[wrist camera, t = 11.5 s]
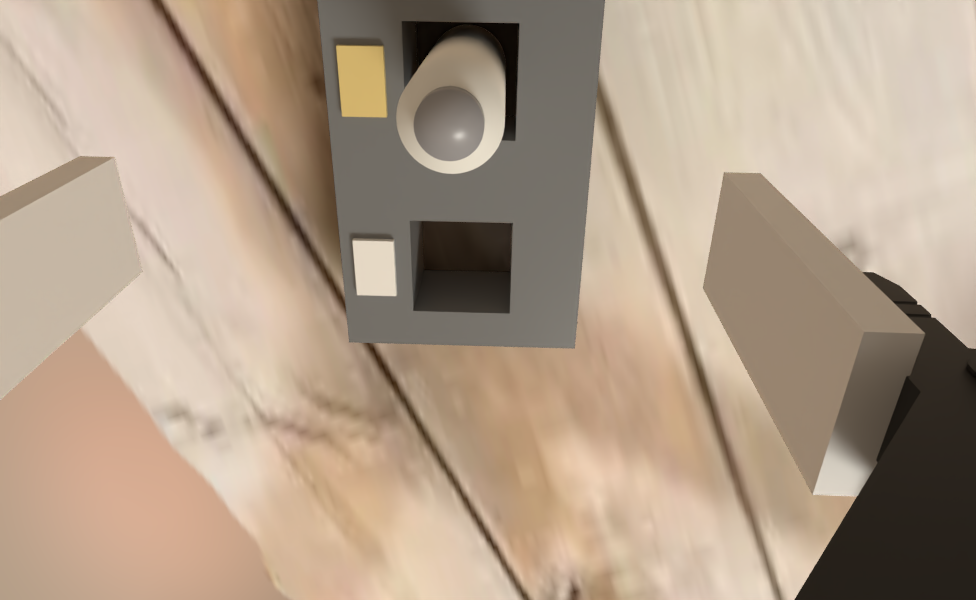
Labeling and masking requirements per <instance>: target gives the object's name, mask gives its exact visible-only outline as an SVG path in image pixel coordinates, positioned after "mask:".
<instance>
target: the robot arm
mask: <svg viewBox="0 0 976 600" xmlns="http://www.w3.org/2000/svg"><path fill="white" fill-rule="evenodd" d="M142 272H143V271H142V267H141V263H140V259H139V255H138V251H137V247H136V243H135V239H134V234H133V230H132V226H131V222H130V218H129V214H128V210H127V206H126V202H125V198H124V194H123V190H122V186H121V182H120V177H119V173H118V169H117V165H116V161H115V157H85V156H80V157H78V158H76V159H74V160H72V161H70V162H68V163H66V164H64V165H62V166H60V167H58V168H56V169H54V170H52V171H50V172H48V173H46V174H44V175H42V176H40V177H38V178H36V179H34V180H32V181H30V182H28V183H26V184H24V185H22V186H20V187H18V188H16V189H14V190H12V191H10V192H8V193H6V194H4V195H2V196H0V400H1V399H2V398H3V397H4V396H5V395H6V394H8V393H9V392H10V391H11V390H12V389H13V388H14V387H15V386H16V385H17V384H18V383H20V382H21V381H22V380H23V379H24V378H25V377H26V376H28V375H29V374H30V373H31V372H32V371H33V370H34V369H35V368H36V367H37V366H39V365H40V364H41V363H42V362H43V361H44V360H45V359H46V358H48V357H49V356H50V355H51V354H52V353H53V352H54V351H55V350H56V349H57V348H59V347H60V346H61V345H62V344H63V343H64V342H65V341H66V340H68V339H69V338H70V337H71V336H72V335H73V334H74V333H75V332H76V331H77V330H78V329H80V328H81V327H82V326H83V325H84V324H85V323H86V322H88V321H89V320H90V319H91V318H92V317H93V316H94V315H95V314H96V313H98V312H99V311H100V310H101V309H102V308H103V307H104V306H105V305H106V304H108V303H109V302H110V301H111V300H112V299H113V298H114V297H115V296H116V295H118V294H119V293H120V292H121V291H122V290H123V289H124V288H125V287H126V286H128V285H129V284H130V283H131V282H132V281H133V280H134V279H135V278H136V277H138V276H139V275H140V274H141V273H142ZM703 289H704V291H705V293H706V295H707V297H708V299H709V300H710V302H711V304H712V306H713V308H714V310H715V312H716V314H717V315H718V317H719V319H720V321H721V323H722V325H723V327H724V329H725V331H726V332H727V334H728V336H729V338H730V340H731V342H732V344H733V346H734V348H735V349H736V351H737V353H738V355H739V357H740V359H741V361H742V363H743V364H744V366H745V368H746V370H747V372H748V374H749V376H750V378H751V380H752V381H753V383H754V385H755V387H756V389H757V391H758V393H759V395H760V397H761V398H762V400H763V402H764V404H765V406H766V408H767V410H768V412H769V413H770V415H771V417H772V419H773V421H774V423H775V425H776V427H777V429H778V430H779V432H780V434H781V436H782V438H783V440H784V442H785V444H786V446H787V447H788V449H789V451H790V453H791V455H792V457H793V459H794V461H795V462H796V464H797V466H798V468H799V470H800V472H801V474H802V476H803V478H804V479H805V481H806V483H807V485H808V487H809V489H810V491H811V493H812V495H833V496H857V498H856V499H855V501H854V503H853V504H852V506H851V508H850V509H849V511H848V513H847V514H846V516H845V517H844V519H843V521H842V522H841V524H840V526H839V527H838V529H837V531H836V532H835V534H834V536H833V537H832V539H831V541H830V542H829V544H828V545H827V547H826V549H825V550H824V552H823V554H822V555H821V557H820V559H819V560H818V562H817V564H816V565H815V567H814V569H813V570H812V572H811V573H810V575H809V577H808V578H807V580H806V582H805V583H804V585H803V587H802V588H801V590H800V592H799V593H798V595H797V597H796V598H795V600H976V349H970V348H967V347H966V346H965V345H964V344H963V343H962V342H961V341H960V340H959V339H957V338H956V337H955V336H954V335H953V334H952V333H951V332H950V331H949V330H948V329H947V328H945V327H944V326H943V325H942V324H941V323H940V322H939V321H938V320H937V319H936V318H931V314H930V313H929V312H928V311H927V310H926V309H925V308H924V307H922V306H921V305H917V301H916V300H915V299H914V298H913V297H911V296H910V295H909V294H908V293H907V292H906V291H905V290H904V289H903V288H902V287H900V286H899V285H897V284H895V283H893V282H891V281H889V280H887V279H885V278H883V277H881V276H879V275H877V274H875V273H873V272H861V271H860V270H859V269H858V268H857V267H856V266H855V265H854V264H853V263H852V262H851V261H850V260H849V259H848V258H847V257H846V256H845V255H844V254H843V253H842V252H841V251H840V250H839V249H838V248H837V247H836V246H835V245H834V244H833V243H832V242H831V241H829V240H828V239H827V238H826V237H825V236H824V235H823V234H822V233H821V232H820V231H819V230H818V229H817V228H816V227H815V226H814V225H813V224H812V223H811V222H810V221H809V220H808V219H807V218H806V217H805V216H804V215H803V214H802V213H801V212H800V211H799V210H798V209H797V208H796V207H795V206H793V205H792V204H791V203H790V202H789V201H788V200H787V199H786V198H785V197H784V196H783V195H782V194H781V193H780V192H779V191H778V190H777V189H776V188H775V187H774V186H773V185H772V184H771V183H770V182H769V181H768V180H767V179H766V178H765V177H764V176H763V175H762V174H761V173H724V176H723V181H722V187H721V192H720V198H719V203H718V209H717V214H716V220H715V225H714V231H713V236H712V242H711V247H710V253H709V258H708V264H707V269H706V275H705V280H704V286H703Z"/></svg>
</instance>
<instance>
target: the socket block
mask: <svg viewBox="0 0 976 600" xmlns="http://www.w3.org/2000/svg"><path fill="white" fill-rule="evenodd" d="M317 2H318V12H319V23H320V34H321V45H322V55H323V66H324V77H325V88H326V98H327V109H328V120H329V131H330V141H331V152H332V163H333V174H334V184H335V195H336V206H337V217H338V227H339V238H340V249H341V260H342V270H343V281H344V292H345V303H346V313H347V324H348V335H349V342H359V343H395V344H431V345H468V346H504V347H540V348H575V340H576V328H577V317H578V305H579V294H580V282H581V271H582V259H583V248H584V236H585V225H586V213H587V201H588V190H589V178H590V167H591V155H592V144H593V132H594V121H595V109H596V98H597V86H598V74H599V63H600V51H601V40H602V28H603V17H604V5H605V0H317ZM416 21H429V22H482V23H518V39H517V69H516V100H515V116H505V128H504V133H503V137H502V140H501V142H500V144H499V146H498V148H497V150H496V151H495V153H494V154H493V155H492V156H491V157H490V159H488V160H487V161H486V162H485V163H484V164H482V165H481V166H479V167H477V168H475V169H473V170H471V171H468V172H464V173H458V174H446V173H440V172H437V171H433V170H431V169H429V168H427V167H425V166H423V165H422V164H420V163H419V162H418V161H416V160H415V159H414V158H413V157H412V156H411V155H410V154H409V152H408V151H407V150H406V148H405V146H404V145H403V143H402V141H401V138H400V136H399V133H398V129H397V122H396V113H397V106H398V102H399V99H400V97H401V94H402V92H403V91H404V89H405V87H406V86H407V84H408V83H409V81H410V80H411V78H412V77H413V76H414V74H415V73H416V71H417V70H418V63H417V32H416ZM423 221H449V222H490V223H511V252H510V272H487V271H448V270H424V252H423Z"/></svg>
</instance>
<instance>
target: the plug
mask: <svg viewBox="0 0 976 600" xmlns="http://www.w3.org/2000/svg"><path fill="white" fill-rule="evenodd" d="M505 87H506V59H505V54H504V51H503V48H502V46H501V44H500V43H499V41H498V40H497V38H496V37H495V36H494V35H493V34H492V33H490V32H489V31H488V30H486V29H484V28H482V27H479V26H476V25H459V26H456V27H453V28H451V29H449V30H448V31H446V32H445V33H444V34H443V35H442V36H441V37H440V38H439V39H438V41H437V42H436V43H435V45H434V46H433V48H432V49H431V51H430V52H429V54H428V55H427V57H426V58H425V60H424V61H423V62H422V64H421V65H420V67H419V68H418V70H417V71H416V73H415V74H414V76H413V77H412V78H411V80H410V81H409V83H408V84H407V86H406V87H405V89H404V91H403V92H402V94H401V97H400V99H399V102H398V106H397V113H396V122H397V129H398V133H399V136H400V138H401V141H402V143H403V145H404V146H405V148H406V150H407V151H408V152H409V154H410V155H411V156H412V157H413V158H414V159H415V160H416V161H418V162H419V163H420V164H422V165H423V166H425V167H427V168H429V169H431V170H433V171H437V172H440V173H446V174H458V173H464V172H468V171H471V170H473V169H475V168H477V167H479V166H481V165H482V164H484V163H485V162H486V161H487V160H488V159H490V157H491V156H492V155H493V154H494V153H495V151H496V150H497V148H498V146H499V144H500V142H501V140H502V137H503V133H504V128H505Z"/></svg>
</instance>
